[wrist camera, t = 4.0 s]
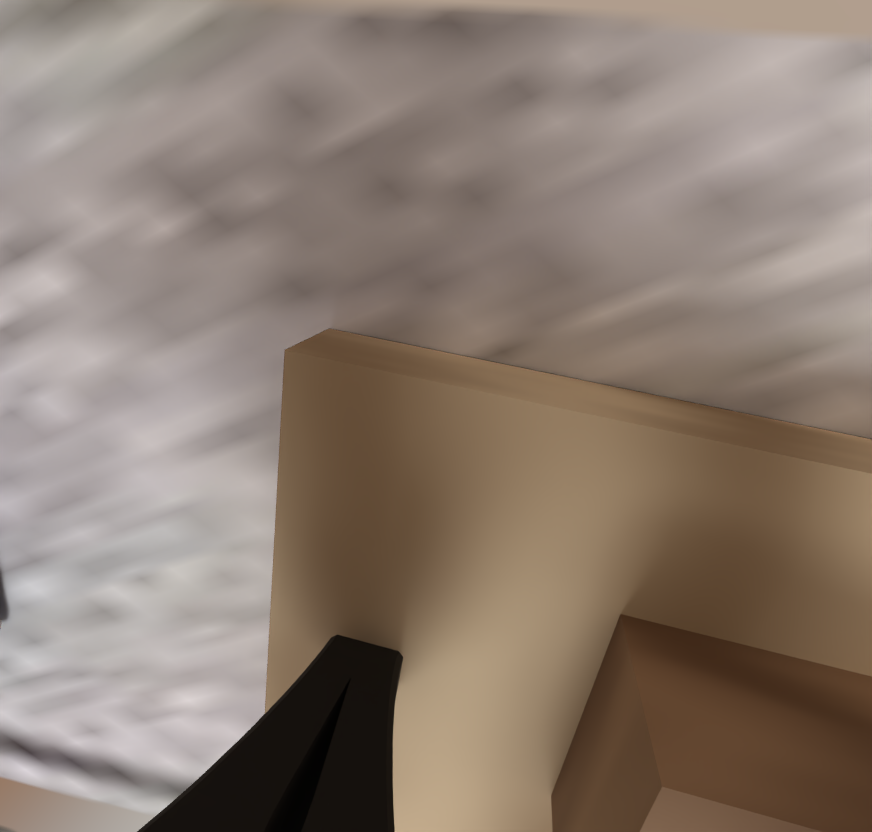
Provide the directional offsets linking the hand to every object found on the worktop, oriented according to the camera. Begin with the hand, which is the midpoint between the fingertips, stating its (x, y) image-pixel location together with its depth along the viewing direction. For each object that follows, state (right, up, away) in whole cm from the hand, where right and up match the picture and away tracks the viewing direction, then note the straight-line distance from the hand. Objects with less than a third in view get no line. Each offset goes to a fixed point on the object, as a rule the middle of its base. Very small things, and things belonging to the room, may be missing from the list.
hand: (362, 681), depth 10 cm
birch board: (+5, 0, +2) cm, 5 cm away
